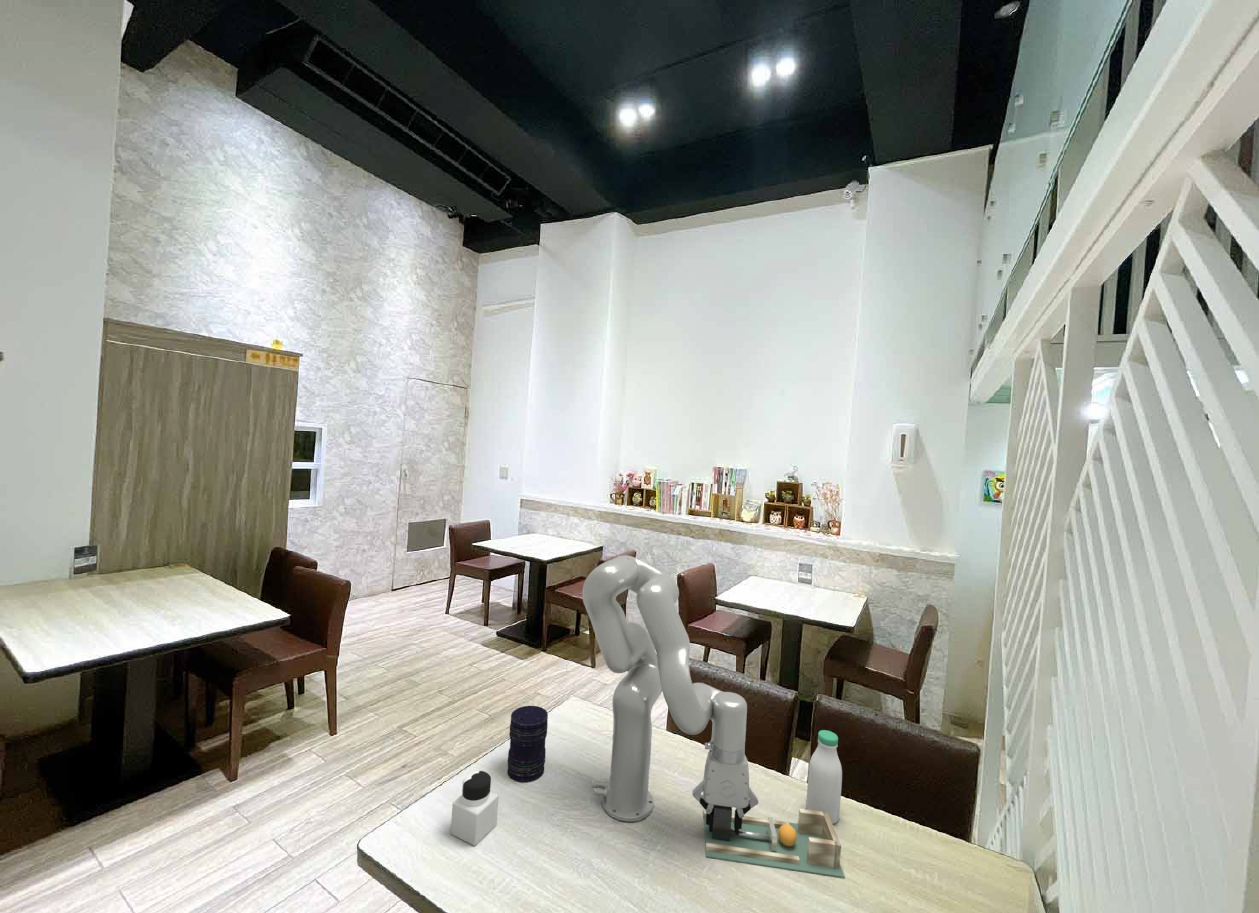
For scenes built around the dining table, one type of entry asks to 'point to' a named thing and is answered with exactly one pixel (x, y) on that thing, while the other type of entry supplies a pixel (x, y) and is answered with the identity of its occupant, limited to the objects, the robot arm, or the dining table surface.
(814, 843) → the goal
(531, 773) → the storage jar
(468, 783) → the medicine bottle
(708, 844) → the rails
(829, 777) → the milk bottle
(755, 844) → the mat
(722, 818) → the kicker
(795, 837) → the ball
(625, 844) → the dining table surface
